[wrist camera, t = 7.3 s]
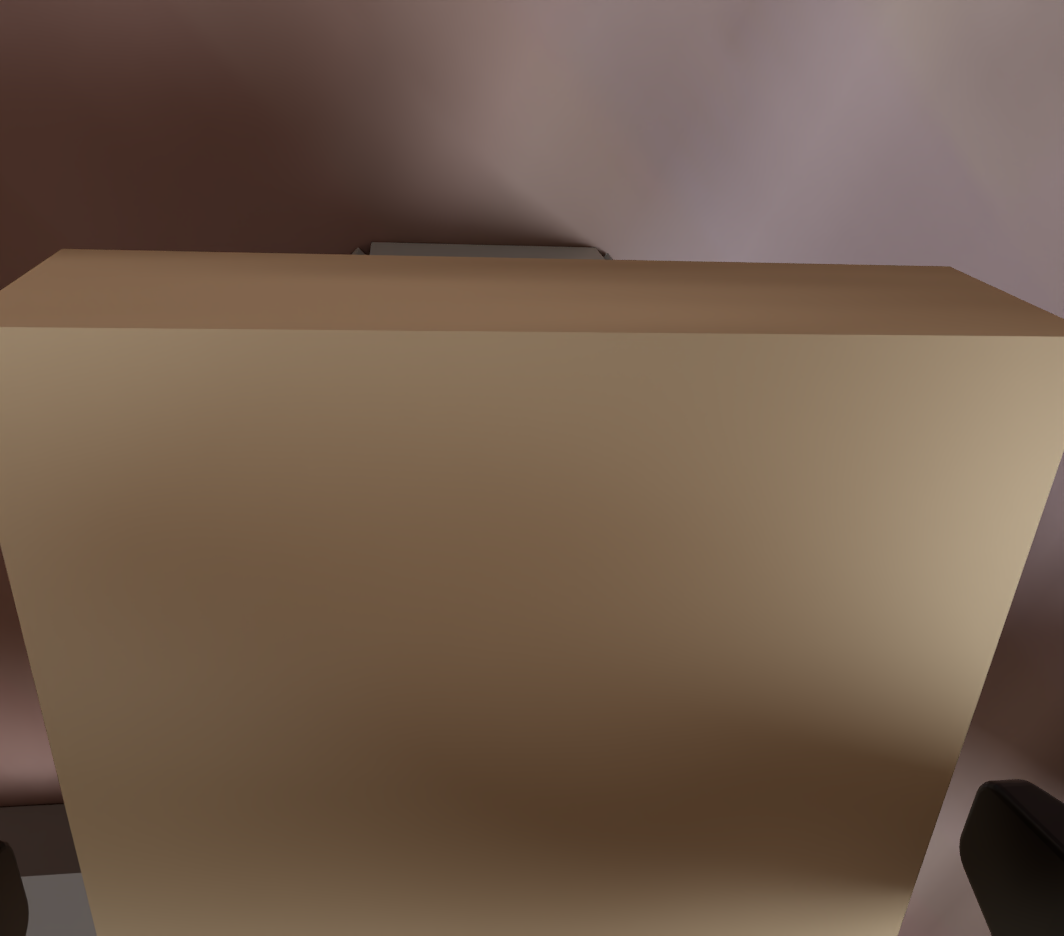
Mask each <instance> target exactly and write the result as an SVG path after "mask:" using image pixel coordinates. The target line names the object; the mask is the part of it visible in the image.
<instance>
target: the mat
mask: <svg viewBox="0 0 1064 936" xmlns="http://www.w3.org/2000/svg"><path fill="white" fill-rule="evenodd" d="M0 840H5V841H6V842H8V843H9V844H10V845H11V847H12V849H13V851H14V854H15V858H16V861H17V865H18V868H19V872H20V875H21V879H22V882H23V886H24V890H25V893H26V897H27V900H28V906H29V921H28V928H27V933H26V936H97V934H96V930H95V926H94V922H93V918H92V914H91V910H90V906H89V902H88V898H87V894H86V890H85V886H84V882H83V877H82V873H81V869H80V865H79V861H78V857H77V853H76V849H75V845H74V841H73V837H72V833H71V829H70V825H69V821H68V817H67V813H66V809H65V804H57V805H39V806H21V807H3V808H0Z"/></svg>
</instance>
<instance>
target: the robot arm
mask: <svg viewBox="0 0 1064 936" xmlns="http://www.w3.org/2000/svg"><path fill="white" fill-rule="evenodd" d="M959 848H960V856H961V861H962V864H963V867H964V870H965V872H966V875H967V877H968V879H969V882H970V884H971V887H972V889H973V891H974V894H975V896H976V899H977V901H978V903H979V906H980V908H981V911H982V913H983V915H984V918H985V920H986V923H987V925H988V928H989V930H990V932H991V935H992V936H1064V803H1062V802H1061V801H1059V800H1058V799H1056V798H1055V797H1053V796H1051V795H1050V794H1048V793H1047V792H1045V791H1044V790H1042V789H1040V788H1039V787H1037V786H1036V785H1034V784H1032V783H1030V782H1028V781H1025V780H1019V779H1014V780H997V781H988V782H985V783H984V784H983V785H981V786H980V787H979V789H978V791H977V793H976V796H975V799H974V801H973V804H972V807H971V809H970V812H969V815H968V818H967V820H966V823H965V826H964V829H963V831H962V834H961V838H960V846H959ZM28 921H29V906H28V900H27V897H26V893H25V890H24V886H23V882H22V879H21V875H20V872H19V868H18V865H17V861H16V858H15V854H14V851H13V849H12V847H11V845H10V844H9V843H8V842H6V841H5V840H0V936H26V933H27V928H28Z"/></svg>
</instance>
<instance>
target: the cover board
mask: <svg viewBox="0 0 1064 936" xmlns="http://www.w3.org/2000/svg"><path fill="white" fill-rule="evenodd" d="M1063 451H1064V319H1062V318H1060V317H1058V316H1056V315H1054V314H1052V313H1049V312H1047V311H1045V310H1043V309H1041V308H1038V307H1036V306H1034V305H1032V304H1030V303H1028V302H1025V301H1023V300H1021V299H1019V298H1017V297H1015V296H1012V295H1010V294H1008V293H1006V292H1004V291H1002V290H999V289H997V288H995V287H993V286H991V285H988V284H986V283H984V282H982V281H980V280H978V279H975V278H973V277H971V276H969V275H967V274H965V273H962V272H960V271H958V270H956V269H954V268H952V267H945V266H895V265H845V264H795V263H745V262H694V261H644V260H594V259H544V258H494V257H444V256H394V255H344V254H294V253H244V252H194V251H143V250H93V249H61V250H59V251H58V252H57V253H55V254H54V255H52V256H51V257H49V258H48V259H46V260H45V261H43V262H42V263H40V264H39V265H37V266H36V267H34V268H33V269H31V270H30V271H28V272H27V273H25V274H24V275H22V276H21V277H19V278H18V279H16V280H15V281H14V282H12V283H11V284H9V285H8V286H6V287H5V288H3V289H2V290H0V545H1V549H2V553H3V557H4V561H5V565H6V569H7V573H8V577H9V581H10V586H11V590H12V594H13V598H14V602H15V606H16V610H17V614H18V618H19V622H20V626H21V630H22V634H23V638H24V642H25V646H26V650H27V654H28V658H29V663H30V667H31V671H32V675H33V679H34V683H35V687H36V691H37V695H38V699H39V703H40V707H41V711H42V715H43V719H44V723H45V727H46V731H47V736H48V740H49V744H50V748H51V752H52V756H53V760H54V764H55V768H56V772H57V776H58V780H59V784H60V788H61V792H62V796H63V800H64V804H65V809H66V813H67V817H68V821H69V825H70V829H71V833H72V837H73V841H74V845H75V849H76V853H77V857H78V861H79V865H80V869H81V873H82V877H83V882H84V886H85V890H86V894H87V898H88V902H89V906H90V910H91V914H92V918H93V922H94V926H95V930H96V934H97V936H897V935H898V933H899V930H900V927H901V924H902V921H903V918H904V915H905V912H906V909H907V906H908V903H909V900H910V898H911V895H912V892H913V889H914V886H915V883H916V880H917V877H918V874H919V871H920V868H921V865H922V863H923V860H924V857H925V854H926V851H927V848H928V845H929V842H930V839H931V836H932V833H933V830H934V828H935V825H936V822H937V819H938V816H939V813H940V810H941V807H942V804H943V801H944V798H945V795H946V793H947V790H948V787H949V784H950V781H951V778H952V775H953V772H954V769H955V766H956V763H957V760H958V758H959V755H960V752H961V749H962V746H963V743H964V740H965V737H966V734H967V731H968V728H969V725H970V723H971V720H972V717H973V714H974V711H975V708H976V705H977V702H978V699H979V696H980V693H981V690H982V688H983V685H984V682H985V679H986V676H987V673H988V670H989V667H990V664H991V661H992V658H993V655H994V653H995V650H996V647H997V644H998V641H999V638H1000V635H1001V632H1002V629H1003V626H1004V623H1005V620H1006V618H1007V615H1008V612H1009V609H1010V606H1011V603H1012V600H1013V597H1014V594H1015V591H1016V588H1017V585H1018V583H1019V580H1020V577H1021V574H1022V571H1023V568H1024V565H1025V562H1026V559H1027V556H1028V553H1029V550H1030V548H1031V545H1032V542H1033V539H1034V536H1035V533H1036V530H1037V527H1038V524H1039V521H1040V518H1041V515H1042V513H1043V510H1044V507H1045V504H1046V501H1047V498H1048V495H1049V492H1050V489H1051V486H1052V483H1053V480H1054V478H1055V475H1056V472H1057V469H1058V466H1059V463H1060V460H1061V457H1062V454H1063Z"/></svg>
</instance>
